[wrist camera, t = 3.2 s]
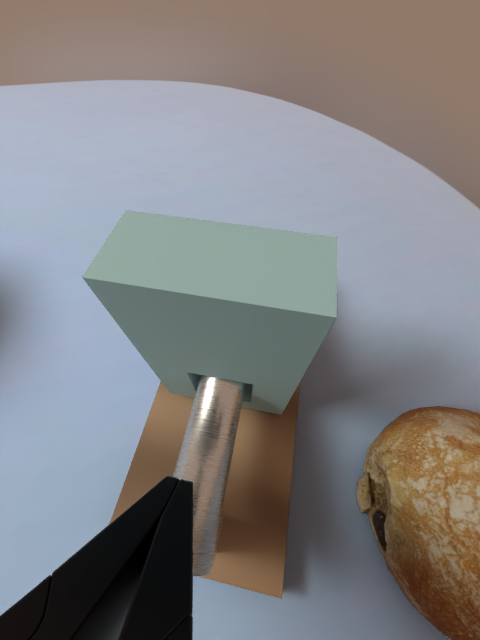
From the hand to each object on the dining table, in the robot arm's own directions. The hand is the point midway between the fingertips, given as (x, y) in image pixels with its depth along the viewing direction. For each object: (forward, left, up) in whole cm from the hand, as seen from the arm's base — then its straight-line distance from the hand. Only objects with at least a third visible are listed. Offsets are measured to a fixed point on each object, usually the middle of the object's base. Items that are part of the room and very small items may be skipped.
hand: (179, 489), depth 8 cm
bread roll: (-5, -13, -9) cm, 16 cm away
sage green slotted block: (+5, -3, -7) cm, 9 cm away
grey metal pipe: (+6, -3, -8) cm, 10 cm away
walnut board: (+5, -3, -9) cm, 10 cm away
